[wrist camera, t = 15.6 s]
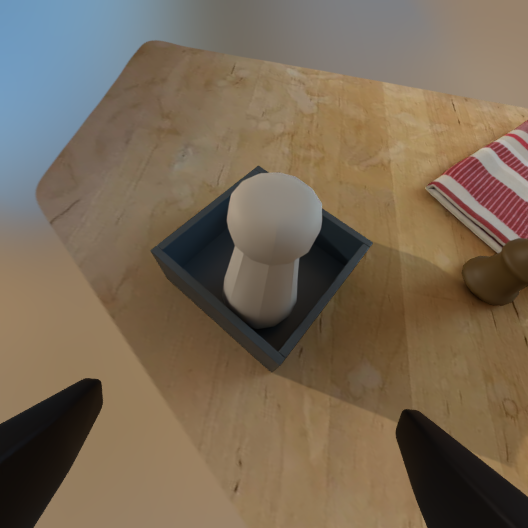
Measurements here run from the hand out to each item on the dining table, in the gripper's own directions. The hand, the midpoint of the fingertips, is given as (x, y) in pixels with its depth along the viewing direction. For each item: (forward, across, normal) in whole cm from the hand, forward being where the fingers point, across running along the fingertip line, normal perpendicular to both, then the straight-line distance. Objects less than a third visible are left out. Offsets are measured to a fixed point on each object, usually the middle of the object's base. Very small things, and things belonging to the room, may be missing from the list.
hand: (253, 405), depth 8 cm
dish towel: (+27, -32, -8) cm, 43 cm away
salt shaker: (+14, 0, +4) cm, 15 cm away
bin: (+17, 0, +2) cm, 17 cm away
